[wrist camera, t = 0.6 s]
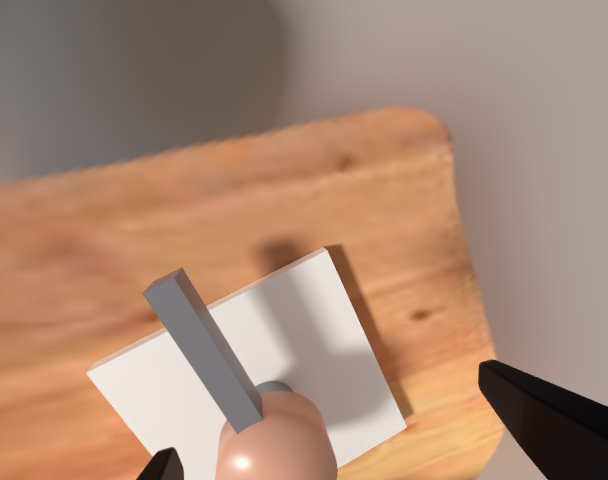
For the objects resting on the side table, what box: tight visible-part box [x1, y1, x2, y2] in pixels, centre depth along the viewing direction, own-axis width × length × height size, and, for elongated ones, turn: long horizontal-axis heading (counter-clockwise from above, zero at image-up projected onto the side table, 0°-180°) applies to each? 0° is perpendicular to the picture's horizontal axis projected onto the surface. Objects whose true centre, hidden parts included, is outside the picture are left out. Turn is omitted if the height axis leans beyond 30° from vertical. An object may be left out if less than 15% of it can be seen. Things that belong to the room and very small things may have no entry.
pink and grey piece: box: [142, 268, 338, 480], centre depth 16 cm, size 16×7×3 cm, turn 25°
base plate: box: [86, 247, 407, 480], centre depth 21 cm, size 18×18×4 cm
